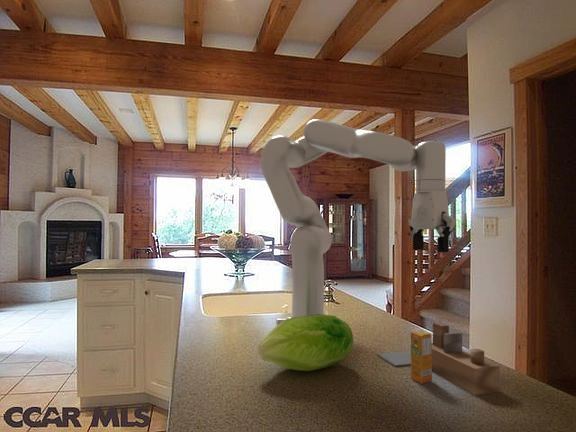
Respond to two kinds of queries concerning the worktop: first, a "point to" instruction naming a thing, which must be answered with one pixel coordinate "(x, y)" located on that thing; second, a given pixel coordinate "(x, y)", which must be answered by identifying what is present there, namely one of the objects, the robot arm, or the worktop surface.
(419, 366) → the supplement box
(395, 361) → the mat
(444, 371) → the brown wooden block shape
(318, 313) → the robot arm
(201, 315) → the worktop surface
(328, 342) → the lettuce
